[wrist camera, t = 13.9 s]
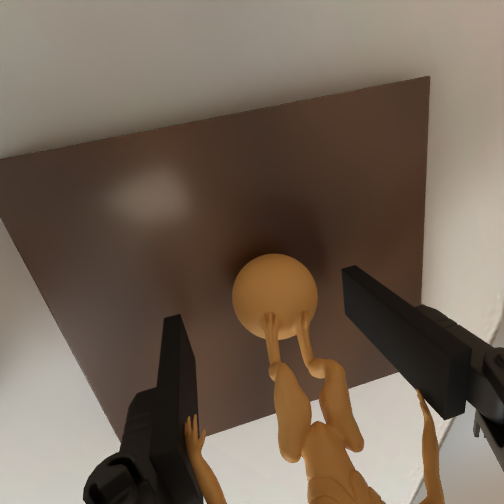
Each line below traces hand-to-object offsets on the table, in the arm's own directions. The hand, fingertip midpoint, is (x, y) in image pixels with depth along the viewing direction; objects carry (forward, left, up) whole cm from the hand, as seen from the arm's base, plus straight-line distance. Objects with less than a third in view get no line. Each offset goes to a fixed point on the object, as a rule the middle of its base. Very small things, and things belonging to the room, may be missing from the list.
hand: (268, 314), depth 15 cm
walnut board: (0, 0, -3) cm, 3 cm away
